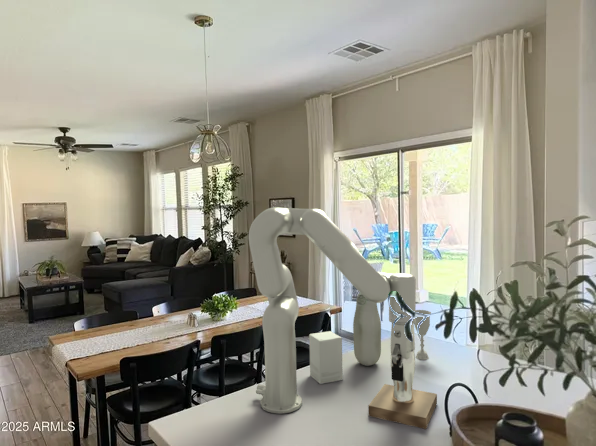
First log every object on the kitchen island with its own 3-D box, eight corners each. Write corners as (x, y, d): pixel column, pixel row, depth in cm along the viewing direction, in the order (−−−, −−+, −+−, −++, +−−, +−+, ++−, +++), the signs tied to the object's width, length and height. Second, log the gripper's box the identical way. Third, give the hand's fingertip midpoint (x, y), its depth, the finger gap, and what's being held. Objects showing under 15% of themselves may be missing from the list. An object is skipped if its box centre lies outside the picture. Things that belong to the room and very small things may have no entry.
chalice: (410, 354, 164) (409, 310, 164) (425, 353, 166) (425, 309, 165) (418, 361, 157) (418, 315, 157) (434, 360, 158) (434, 313, 158)
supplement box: (343, 380, 142) (342, 337, 141) (320, 384, 138) (319, 341, 138) (331, 370, 150) (331, 330, 150) (309, 375, 147) (308, 333, 146)
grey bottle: (358, 357, 162) (357, 287, 161) (384, 361, 158) (383, 289, 157) (350, 366, 153) (349, 292, 152) (377, 371, 149) (376, 294, 148)
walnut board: (368, 415, 117) (368, 405, 117) (384, 393, 131) (384, 383, 131) (426, 429, 109) (426, 418, 109) (436, 403, 123) (436, 393, 123)
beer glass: (416, 405, 116) (415, 353, 116) (391, 403, 117) (390, 352, 117) (414, 394, 123) (414, 345, 122) (390, 393, 124) (390, 344, 124)
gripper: (407, 325, 110) (407, 388, 110) (421, 311, 125) (421, 366, 126) (380, 321, 113) (380, 382, 114) (397, 308, 129) (397, 362, 129)
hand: (401, 374), depth 120 cm, fingers open, 9 cm apart
